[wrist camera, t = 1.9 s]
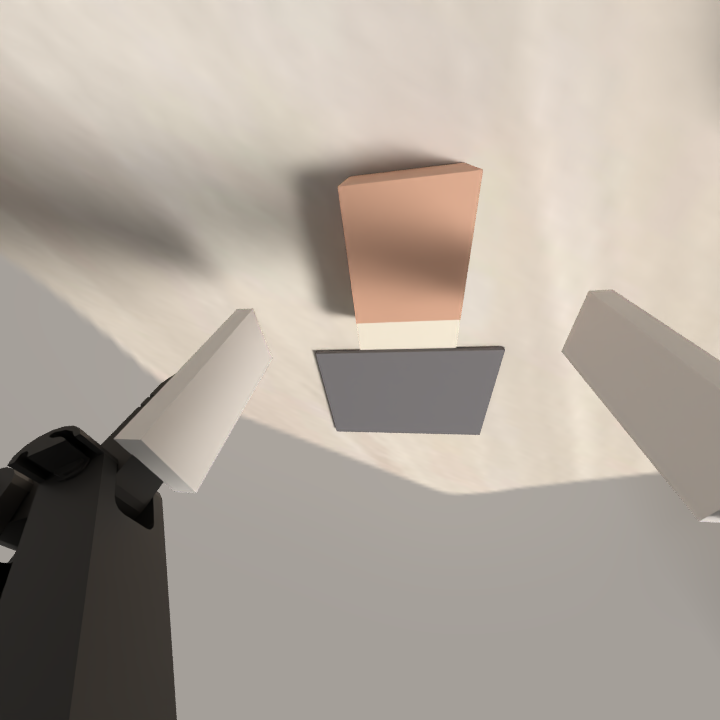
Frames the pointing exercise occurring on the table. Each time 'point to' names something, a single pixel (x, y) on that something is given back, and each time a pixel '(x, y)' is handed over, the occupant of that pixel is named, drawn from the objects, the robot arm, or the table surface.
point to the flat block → (409, 253)
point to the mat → (410, 388)
